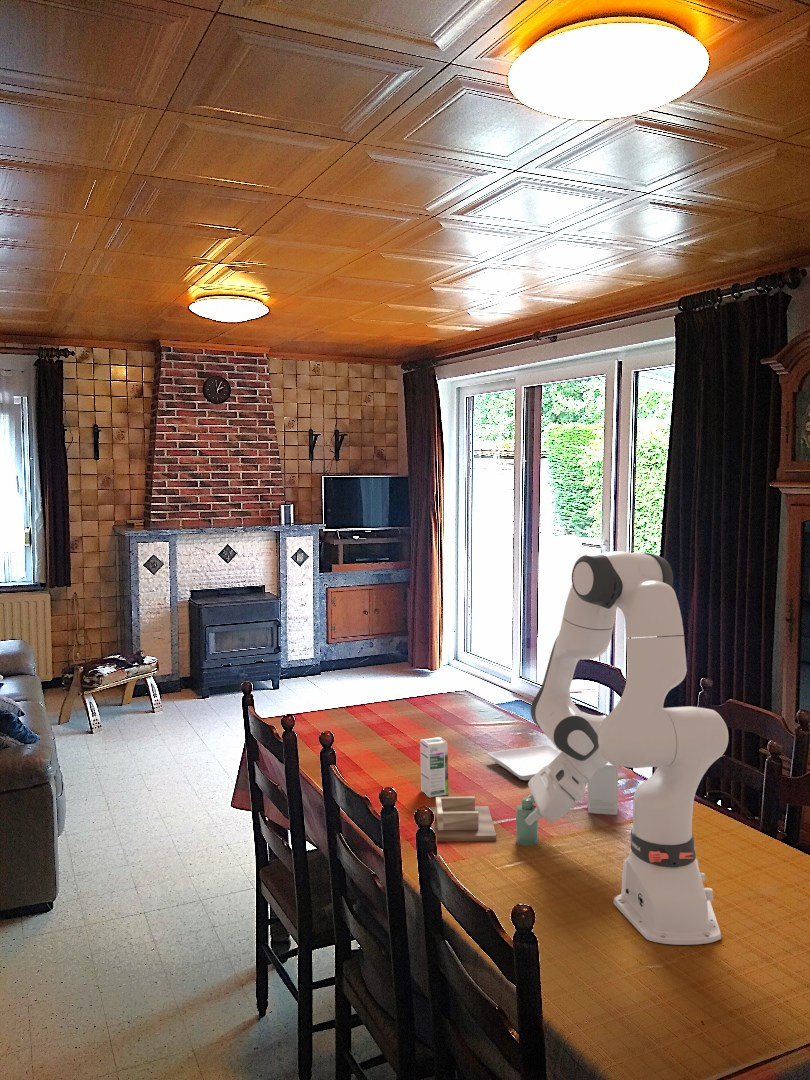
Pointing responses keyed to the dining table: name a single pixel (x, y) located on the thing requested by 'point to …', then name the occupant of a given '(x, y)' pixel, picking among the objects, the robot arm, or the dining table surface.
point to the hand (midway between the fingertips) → (524, 817)
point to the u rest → (462, 820)
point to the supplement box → (603, 791)
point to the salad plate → (525, 760)
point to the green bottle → (525, 832)
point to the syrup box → (434, 766)
